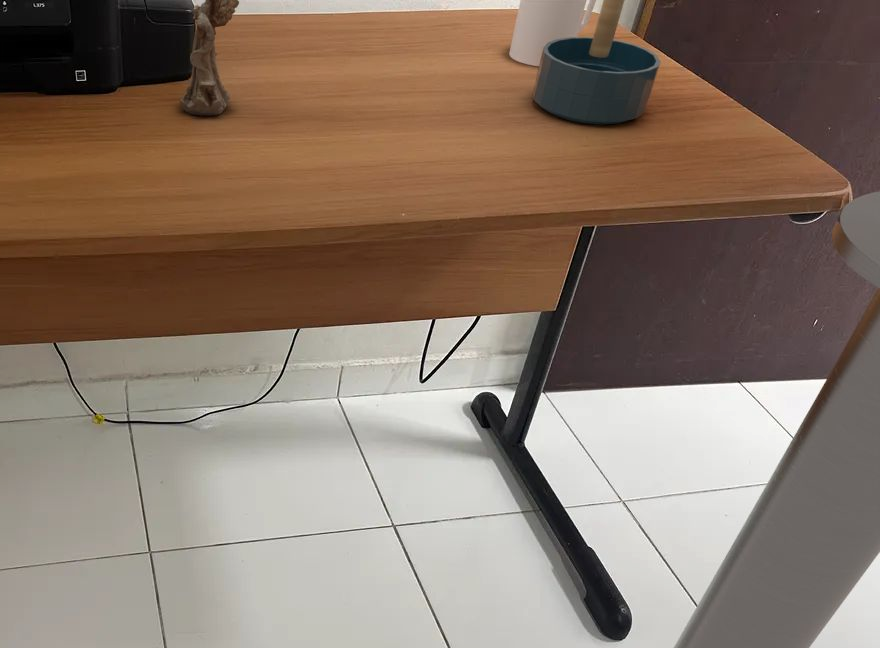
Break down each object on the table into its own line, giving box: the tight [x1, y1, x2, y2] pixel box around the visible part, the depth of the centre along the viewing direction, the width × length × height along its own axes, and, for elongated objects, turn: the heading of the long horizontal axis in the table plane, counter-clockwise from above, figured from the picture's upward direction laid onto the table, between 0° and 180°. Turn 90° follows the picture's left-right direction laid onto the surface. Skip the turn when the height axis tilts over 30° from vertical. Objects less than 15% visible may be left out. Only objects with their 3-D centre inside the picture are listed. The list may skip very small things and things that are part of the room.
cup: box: [508, 0, 597, 67], centre depth 119 cm, size 8×12×10 cm
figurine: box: [179, 0, 240, 117], centre depth 100 cm, size 7×6×15 cm
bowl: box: [531, 36, 661, 125], centre depth 106 cm, size 13×13×6 cm
